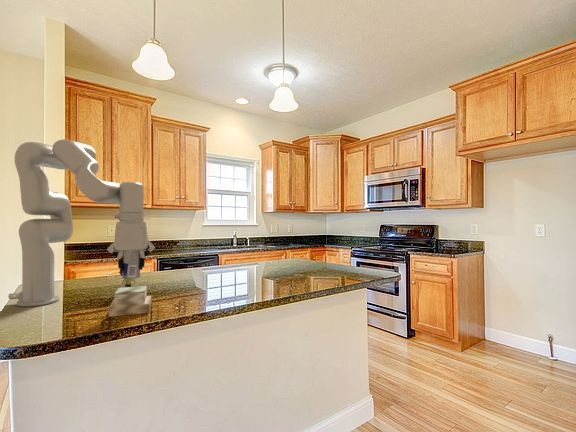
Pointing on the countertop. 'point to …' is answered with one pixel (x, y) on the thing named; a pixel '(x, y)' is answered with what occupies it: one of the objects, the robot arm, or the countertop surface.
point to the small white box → (130, 301)
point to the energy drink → (131, 264)
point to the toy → (128, 281)
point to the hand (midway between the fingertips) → (131, 269)
